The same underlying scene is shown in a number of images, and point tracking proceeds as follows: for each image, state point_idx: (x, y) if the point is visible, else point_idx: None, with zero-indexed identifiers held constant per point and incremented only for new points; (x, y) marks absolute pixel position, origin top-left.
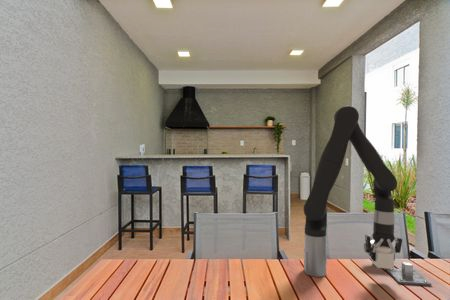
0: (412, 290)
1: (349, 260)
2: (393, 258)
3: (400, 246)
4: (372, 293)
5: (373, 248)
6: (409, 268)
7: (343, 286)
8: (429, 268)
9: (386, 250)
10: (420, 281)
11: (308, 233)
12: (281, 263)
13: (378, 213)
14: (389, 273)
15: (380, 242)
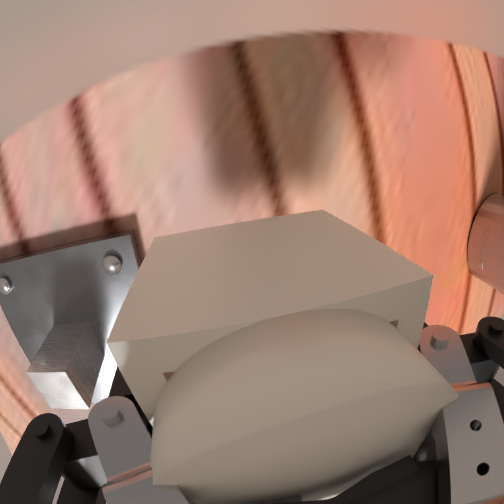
0: (75, 159)
1: None
2: (134, 293)
3: (3, 495)
4: (333, 50)
5: (463, 367)
6: (49, 356)
7: (441, 117)
8: (27, 423)
9: (301, 370)
10: (21, 279)
11: None
12: None
13: None
14: None
15: (478, 501)
